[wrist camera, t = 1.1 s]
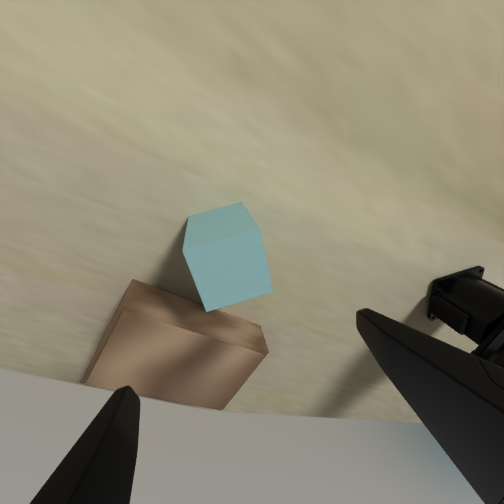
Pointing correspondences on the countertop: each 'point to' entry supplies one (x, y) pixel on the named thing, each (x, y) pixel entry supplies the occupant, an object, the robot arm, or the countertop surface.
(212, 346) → the walnut block
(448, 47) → the countertop surface
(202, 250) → the teal block
